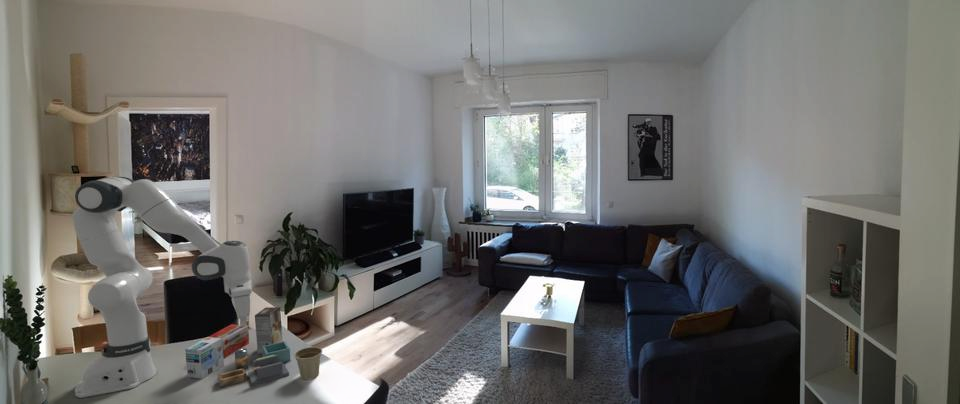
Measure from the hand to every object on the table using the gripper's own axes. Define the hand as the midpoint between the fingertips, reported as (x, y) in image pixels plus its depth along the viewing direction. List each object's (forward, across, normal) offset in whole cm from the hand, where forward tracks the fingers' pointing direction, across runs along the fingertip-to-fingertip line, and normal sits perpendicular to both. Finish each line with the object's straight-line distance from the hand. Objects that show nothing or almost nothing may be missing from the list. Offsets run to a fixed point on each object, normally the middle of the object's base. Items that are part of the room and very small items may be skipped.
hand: (241, 321), depth 166 cm
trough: (+18, +7, -5) cm, 20 cm away
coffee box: (+18, -13, +10) cm, 25 cm away
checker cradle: (+18, +10, +6) cm, 22 cm away
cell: (+18, -1, -1) cm, 18 cm away
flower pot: (+19, +19, +18) cm, 32 cm away
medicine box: (+18, -22, -4) cm, 29 cm away
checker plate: (+16, +10, +6) cm, 20 cm away
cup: (+18, -1, +11) cm, 21 cm away
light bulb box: (+18, -6, -12) cm, 23 cm away
